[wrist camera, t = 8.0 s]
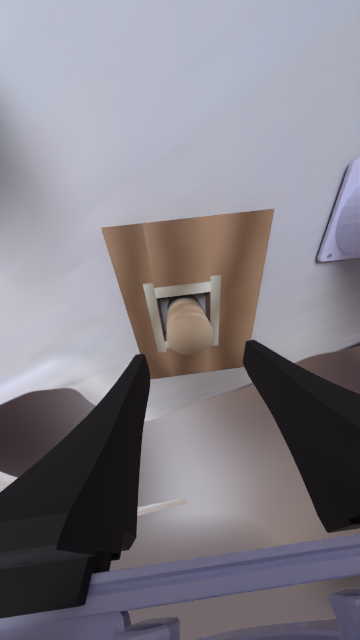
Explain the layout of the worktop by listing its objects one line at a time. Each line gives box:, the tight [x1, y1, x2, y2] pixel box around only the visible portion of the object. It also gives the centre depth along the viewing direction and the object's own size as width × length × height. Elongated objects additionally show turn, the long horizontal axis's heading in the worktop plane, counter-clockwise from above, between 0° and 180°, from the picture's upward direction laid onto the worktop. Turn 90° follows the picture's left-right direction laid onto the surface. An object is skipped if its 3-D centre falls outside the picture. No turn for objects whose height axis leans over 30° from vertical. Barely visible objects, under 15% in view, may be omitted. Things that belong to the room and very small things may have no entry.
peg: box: [167, 294, 213, 355], centre depth 15 cm, size 4×4×6 cm
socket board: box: [101, 209, 274, 379], centre depth 16 cm, size 14×18×2 cm
